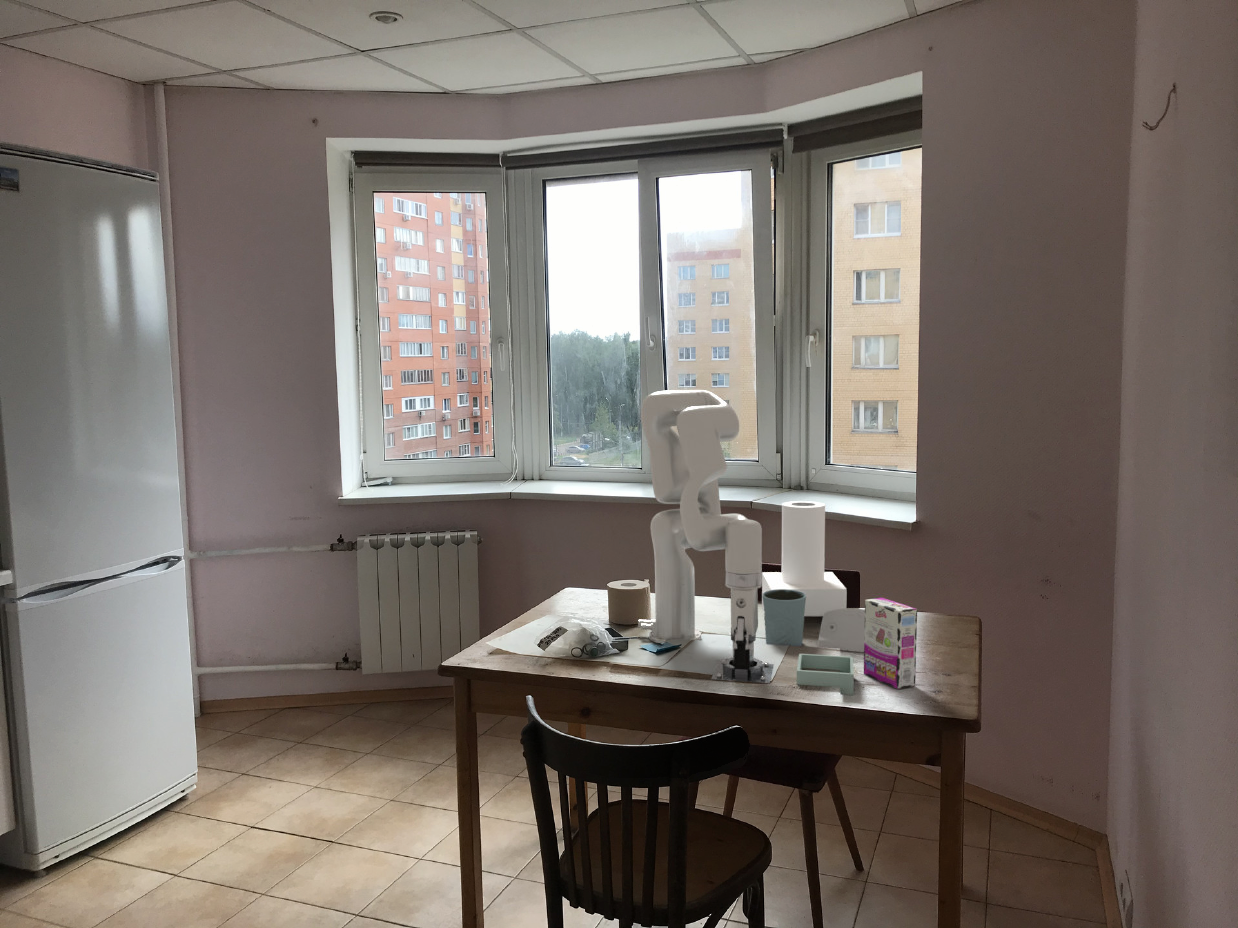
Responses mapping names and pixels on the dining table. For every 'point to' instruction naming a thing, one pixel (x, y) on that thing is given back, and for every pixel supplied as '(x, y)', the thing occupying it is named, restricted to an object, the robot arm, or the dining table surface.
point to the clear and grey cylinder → (750, 646)
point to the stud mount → (743, 672)
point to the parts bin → (830, 679)
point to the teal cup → (784, 616)
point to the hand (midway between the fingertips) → (743, 662)
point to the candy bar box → (890, 642)
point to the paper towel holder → (806, 560)
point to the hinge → (843, 629)
